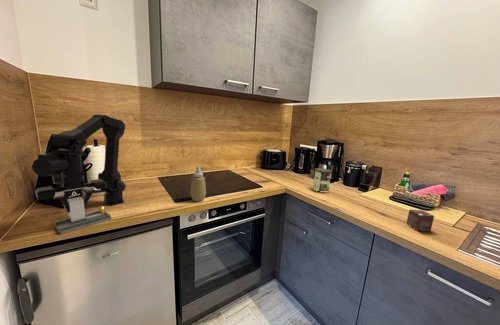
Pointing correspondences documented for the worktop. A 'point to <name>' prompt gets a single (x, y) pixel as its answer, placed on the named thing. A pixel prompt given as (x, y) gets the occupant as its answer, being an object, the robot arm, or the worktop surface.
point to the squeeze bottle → (198, 186)
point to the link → (80, 211)
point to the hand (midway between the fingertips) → (76, 210)
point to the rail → (66, 225)
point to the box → (420, 220)
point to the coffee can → (322, 179)
